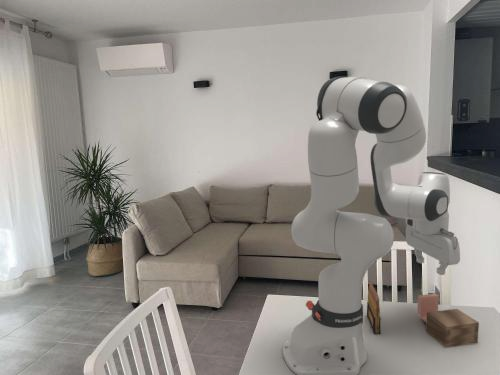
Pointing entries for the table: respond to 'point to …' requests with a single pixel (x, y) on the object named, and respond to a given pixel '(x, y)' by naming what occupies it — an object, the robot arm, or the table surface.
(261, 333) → the table surface
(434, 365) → the table surface
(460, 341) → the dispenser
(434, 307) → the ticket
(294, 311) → the table surface
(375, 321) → the brown flat panel
